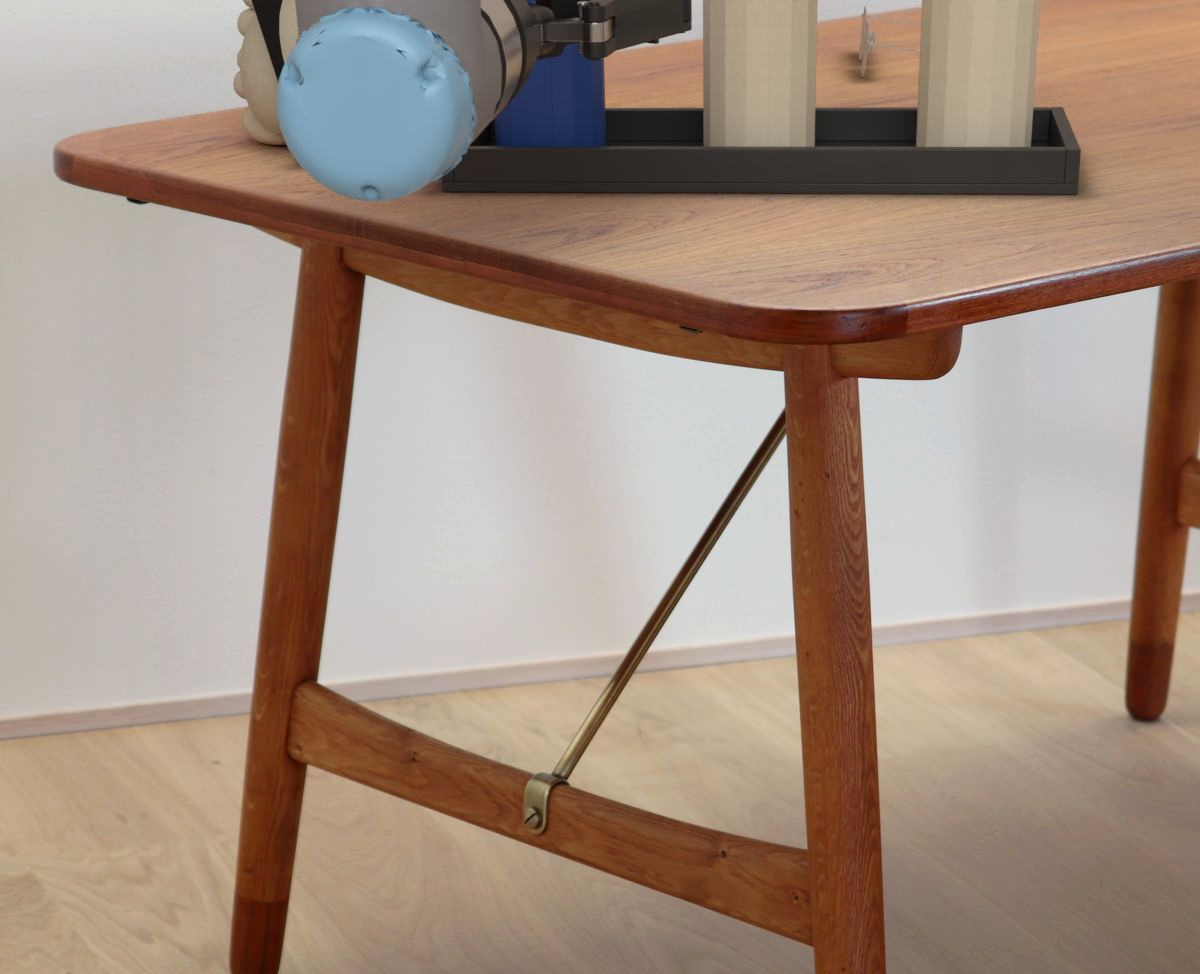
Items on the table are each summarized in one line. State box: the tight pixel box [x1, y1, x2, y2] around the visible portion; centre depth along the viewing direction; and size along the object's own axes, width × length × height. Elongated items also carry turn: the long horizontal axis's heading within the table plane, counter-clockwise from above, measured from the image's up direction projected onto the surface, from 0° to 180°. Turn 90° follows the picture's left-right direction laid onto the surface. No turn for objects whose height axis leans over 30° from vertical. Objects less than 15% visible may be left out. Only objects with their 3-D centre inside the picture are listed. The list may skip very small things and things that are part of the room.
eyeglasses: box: [858, 5, 921, 78], centre depth 150 cm, size 14×8×4 cm, turn 174°
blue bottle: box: [495, 0, 606, 146], centre depth 118 cm, size 7×7×16 cm
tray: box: [440, 106, 1082, 195], centre depth 119 cm, size 38×13×3 cm, turn 82°
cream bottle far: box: [916, 0, 1042, 147], centre depth 114 cm, size 7×7×16 cm
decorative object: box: [232, 0, 299, 146], centre depth 127 cm, size 13×10×10 cm
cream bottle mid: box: [702, 0, 819, 147], centre depth 116 cm, size 7×7×16 cm
